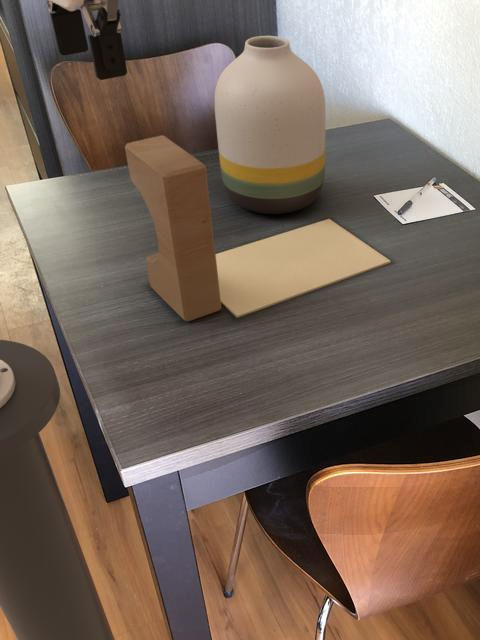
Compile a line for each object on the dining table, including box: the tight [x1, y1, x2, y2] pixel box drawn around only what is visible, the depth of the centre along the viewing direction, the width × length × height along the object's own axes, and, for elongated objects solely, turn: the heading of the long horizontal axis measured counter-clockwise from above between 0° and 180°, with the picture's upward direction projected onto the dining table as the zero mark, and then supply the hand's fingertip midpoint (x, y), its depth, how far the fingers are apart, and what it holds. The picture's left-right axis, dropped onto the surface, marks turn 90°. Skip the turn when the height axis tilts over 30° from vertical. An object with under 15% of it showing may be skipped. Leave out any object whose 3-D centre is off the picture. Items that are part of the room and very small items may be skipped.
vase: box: [213, 35, 326, 215], centre depth 114 cm, size 17×17×24 cm
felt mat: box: [215, 218, 391, 319], centre depth 107 cm, size 26×16×1 cm, turn 125°
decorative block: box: [124, 134, 222, 323], centre depth 93 cm, size 11×6×20 cm, turn 35°
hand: (92, 64), depth 77 cm, fingers open, 9 cm apart
